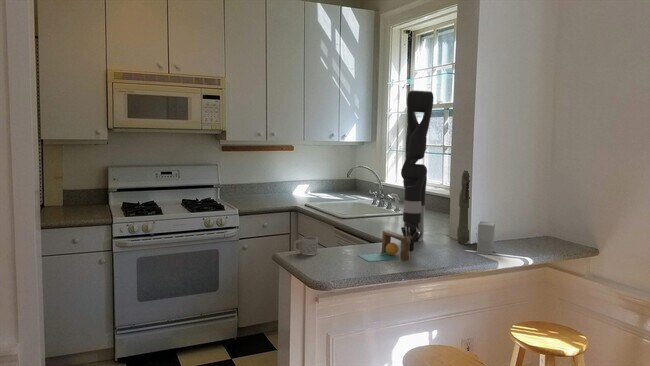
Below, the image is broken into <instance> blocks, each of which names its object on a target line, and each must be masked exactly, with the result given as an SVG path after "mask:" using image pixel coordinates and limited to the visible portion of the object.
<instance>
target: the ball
mask: <svg viewBox="0 0 650 366" xmlns="http://www.w3.org/2000/svg"><path fill="white" fill-rule="evenodd" d="M399 250H400V248H399V245H398V244H397V243H395V242H391V243H389V244H387V246H386V253H387V254H389V255H391V256H396V255H397V254H398V253H399Z"/></svg>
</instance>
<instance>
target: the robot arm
mask: <svg viewBox="0 0 650 366" xmlns="http://www.w3.org/2000/svg"><path fill="white" fill-rule="evenodd" d="M406 98H407V99H406V136H405V160H404V163H403V165H402V168H401V171H400V175H401V178H402V179H403V180H402V183H403V188H404V197H403V198H404V199H403V201H404V202H403V211H402V221H403V226H401V228H400V229H401V233H402V236H405V237H408V238H410V253H411V252H414V251H415V243H418V242H422V241H424V232H425V214H426V213H425V209H426V191H427V190H426V189H427V182H428V181H427V179H428V178H427V177H428V176H427V174H428V169H427V166H426V165H425V164H423V163H422V164H421V163H418V161H420V160H423V159H424V157H425V152H426V151H427V139H428V138H427V135H428V131H429V127H430V123H431V117H432V112H433V107H434V94H433V92H432V91H430V90H418V89H417V90H414V89H413V90H410V91H409V92H408V94H407V97H406ZM416 113H423V117H422V119H421V121H420V122H418V119H417V116H416Z"/></svg>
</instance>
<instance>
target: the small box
mask: <svg viewBox="0 0 650 366" xmlns="http://www.w3.org/2000/svg"><path fill="white" fill-rule="evenodd" d="M477 226H478V227H477V240H476V241H477V243H476V254H479V253H483V254H482V255H488V254H490V255H491V256H492V255H493V253H494V245H495V244H494V243H495V232H496V231H495V227H496V222H492V221H480V222H479V223H478V225H477Z"/></svg>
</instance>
